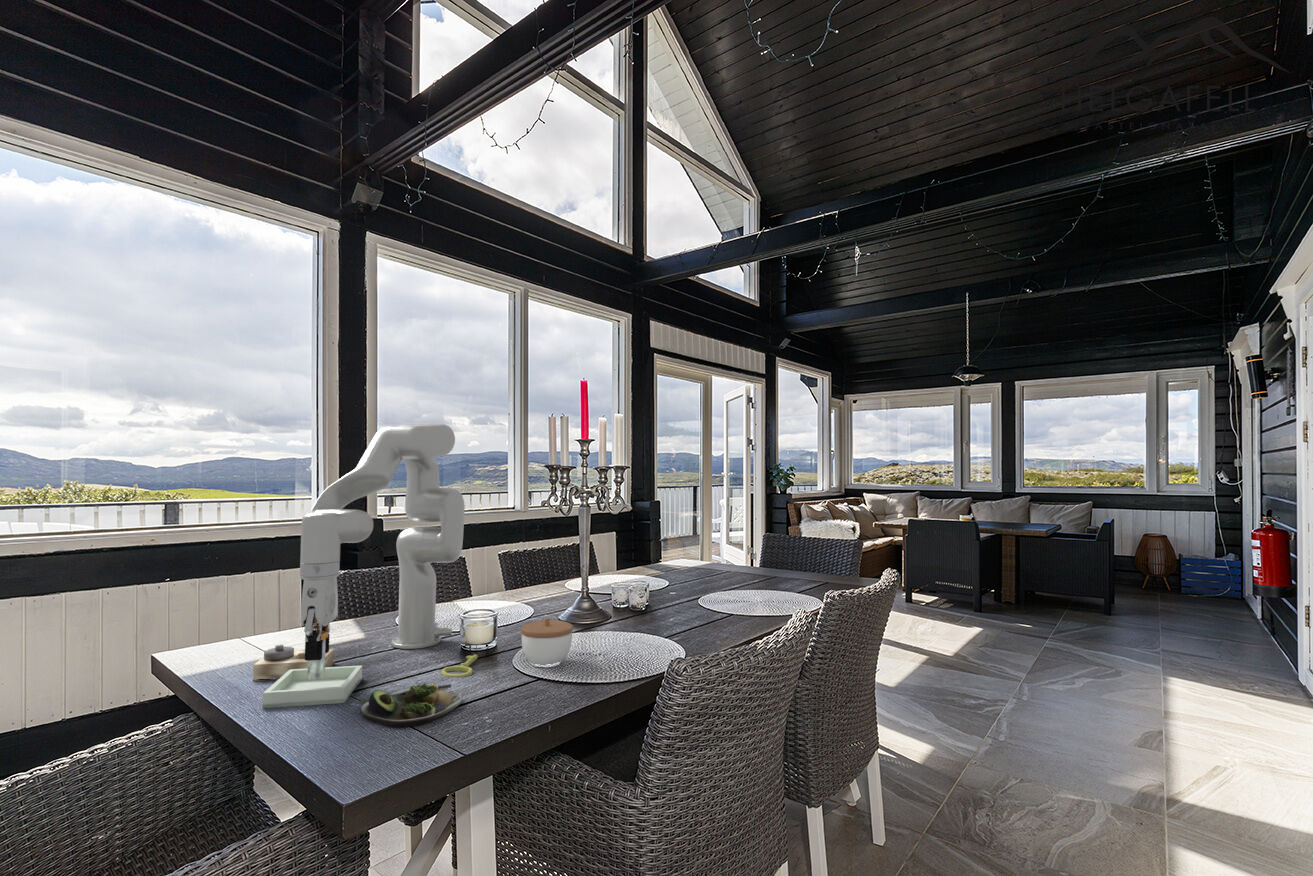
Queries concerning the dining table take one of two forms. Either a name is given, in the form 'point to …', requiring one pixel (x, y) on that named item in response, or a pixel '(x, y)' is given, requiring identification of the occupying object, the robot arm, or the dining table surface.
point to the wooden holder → (283, 662)
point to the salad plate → (408, 705)
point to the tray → (313, 687)
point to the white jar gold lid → (318, 661)
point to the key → (461, 668)
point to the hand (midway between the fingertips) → (317, 655)
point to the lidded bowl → (546, 641)
